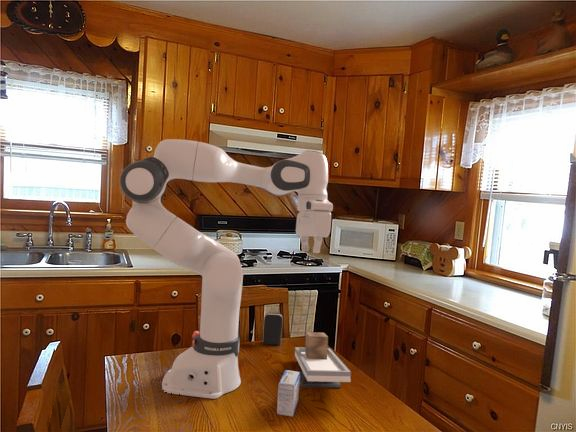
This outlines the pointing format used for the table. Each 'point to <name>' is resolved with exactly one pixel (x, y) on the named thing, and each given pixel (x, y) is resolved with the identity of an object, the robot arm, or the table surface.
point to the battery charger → (272, 328)
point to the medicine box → (288, 393)
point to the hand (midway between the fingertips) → (310, 252)
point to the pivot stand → (317, 383)
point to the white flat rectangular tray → (323, 367)
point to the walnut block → (316, 345)
